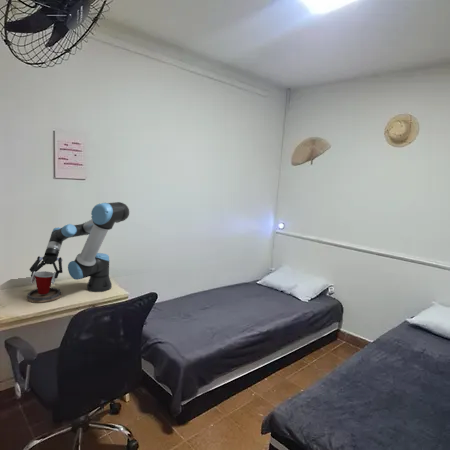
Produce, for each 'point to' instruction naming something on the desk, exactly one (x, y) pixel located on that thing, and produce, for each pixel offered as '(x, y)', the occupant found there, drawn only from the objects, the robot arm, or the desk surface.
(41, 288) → the plastic cup
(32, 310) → the desk surface
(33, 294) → the cup holder
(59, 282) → the desk surface
